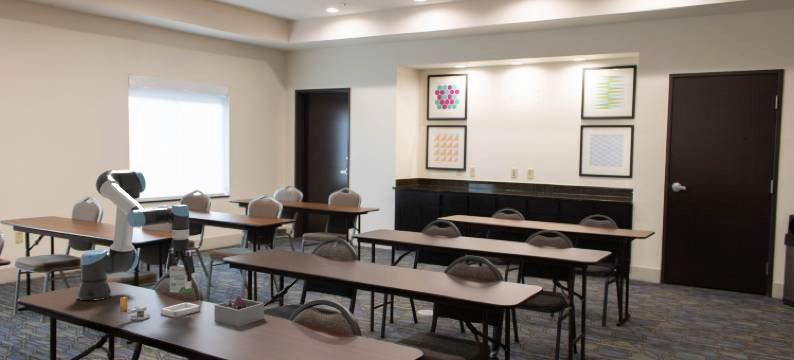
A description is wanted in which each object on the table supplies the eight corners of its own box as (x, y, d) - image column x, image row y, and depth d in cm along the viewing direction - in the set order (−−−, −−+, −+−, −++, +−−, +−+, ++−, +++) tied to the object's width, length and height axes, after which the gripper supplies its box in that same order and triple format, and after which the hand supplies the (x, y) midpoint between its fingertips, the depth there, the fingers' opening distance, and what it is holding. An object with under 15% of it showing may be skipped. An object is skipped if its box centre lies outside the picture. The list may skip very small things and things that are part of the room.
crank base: (126, 318, 273) (126, 311, 272) (142, 314, 279) (142, 307, 279) (137, 321, 268) (137, 314, 268) (153, 317, 275) (153, 310, 275)
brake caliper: (244, 319, 266) (229, 295, 268) (226, 331, 270) (213, 308, 272) (258, 312, 277) (244, 290, 279) (241, 324, 280) (228, 302, 282)
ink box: (192, 290, 285) (192, 265, 284) (187, 292, 280) (187, 267, 279) (174, 289, 286) (174, 264, 285) (169, 292, 281) (169, 266, 280)
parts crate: (214, 320, 272) (214, 305, 271) (240, 312, 284) (240, 298, 284) (238, 326, 264) (238, 310, 263) (263, 318, 276) (263, 303, 276)
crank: (141, 308, 277) (141, 291, 277) (148, 310, 274) (148, 293, 274) (117, 314, 267) (117, 297, 267) (124, 316, 264) (124, 298, 264)
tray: (160, 314, 280) (160, 308, 280) (186, 307, 292) (186, 302, 292) (174, 317, 275) (174, 312, 275) (200, 310, 287) (200, 305, 286)
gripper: (158, 237, 284) (158, 284, 285) (189, 241, 272) (189, 291, 274) (171, 235, 290) (172, 282, 292) (203, 239, 278) (203, 288, 280)
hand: (180, 286), depth 283 cm, fingers closed on ink box, 9 cm apart
